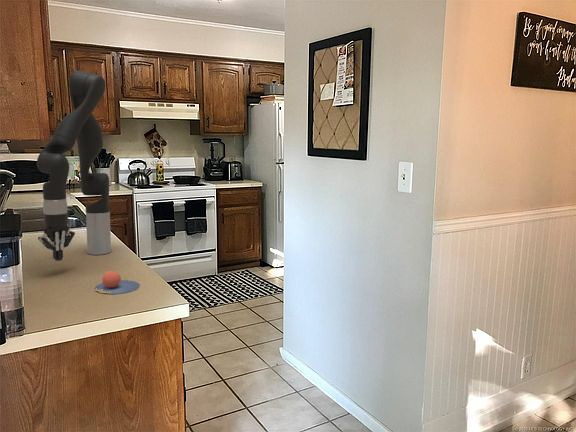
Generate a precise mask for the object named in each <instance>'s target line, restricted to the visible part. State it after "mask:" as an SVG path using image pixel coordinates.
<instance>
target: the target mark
mask: <svg viewBox="0 0 576 432" xmlns="http://www.w3.org/2000/svg"><path fill="white" fill-rule="evenodd" d="M139 286H141V285H140V283H139V282H136V281H134V280H129V279H128V280H126V279H121V281H120V283H119V285H118V286H117V287H115V288H107V287H106V286H105V285H104V284H103V282H102V283H98V284H97V285H95V286H94V289H96V288H97V289H98V290H99V289H100V290H101V289H103V291H106V292H107V291H108V292H109V291H111V292H112V294H111V295H121V294H120V293H123V294H127V292H128V293H131V292H130V291H132V292H134V291H137V290H138V289H139V288H140V287H139ZM138 287H139V288H138ZM137 288H138V289H137ZM94 289H93V290H94ZM133 290H134V291H133ZM111 292H110V293H111ZM113 293H114V294H113Z"/></svg>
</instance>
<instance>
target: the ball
mask: <svg viewBox="0 0 576 432" xmlns="http://www.w3.org/2000/svg"><path fill="white" fill-rule="evenodd" d="M121 280H122V279H121V276H120V273H118V272H117V271H116V270H115V271H114V270H109V271H106V272H105V273H104V274H103V276H102V283H103V284H104V285H105V286H106V287H107V288H115V287H117V286H118V285H119V283H120V281H121Z"/></svg>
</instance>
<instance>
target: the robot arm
mask: <svg viewBox="0 0 576 432" xmlns="http://www.w3.org/2000/svg"><path fill="white" fill-rule="evenodd" d="M68 88H69V89H68V90H69V94H70V100H71V104H72V108H73V109H72V110H73V111H72V112H70V113H68V114H67V115H65V117H63V119H62V120H61V121H60V122H59V123H58V125H57V127H56V128H55V131H54V133H53V135H52V138H51V139H50V141H48V143H47V144H46V146H44V148H43V149H42V150H41V152H39V154H38V157H37V159H36V166H37V170H38V171H40V172H41V173H43V174H48V175H50V176H49V180H48V181H46V182H44V183H43V185H42V197H43V202H42V210H43V211H42V212H43V224H44V231H43V234H42V235H41V236H37V237H38V238H37V240H38V241H39V242H40V243H41V244H42V245H43V246H44V247H45V248H46V249H47V250H51V251H52V258H53V260H54V261H57V262H58V261H62V260H63V258H64V248H68V247H69V244H70V243H71V242H72V240H73V238H74V237H75V235H76V232H74V231H72V230H70V227H69V213H68V212H69V211H68V202H67V191H66V189H67V187H66V185H67V184H68V183H67V182H68V177H69V173H70V162H69V161H68V158H67V157H66V156H65V155H64V153H66V152H67V153H68V152H70V151H71V150H73V148H74V146H75V143H76V145H77V152H78V158H79V159H78V160H79V177H80V178H79V179H80V191H81V193H82V195H83V196H91V197H94V196H98V197H99V196H100V198H99V199H97V200H96V201H94V202H92V203H89V204H87V205H86V206H85V223H86V225H85V226H86V247H87V250H86V251H87V254H88V255H92V256H96V255H97V256H98V255H99V256H101V255H106V254H110V253H111V252H112V242H111V241H112V240H111V239H112V237H111V235H112V233H111V212H110V211H111V210H110V208H111V207H110V176H109V174H107V173H105V172H90V168H91V166H92V164H93V162H94V161H95V159H97V157H98V156H99V154H100V152H101V151H102V149H103V147H104V141H103V139H104V138H103V130H102V126H101V125H100V124H99V122H98V120H97V118H96V117H95V116H94V114H93V112H94V110H95V109H96V107H97V106H98V105H99V103H100V102H101V100H102V98H103V96H104V94H105V91H106V81H105V79H104V77H103V76H102V75H100V74H99V75H98V74H96V73H92V72H88V71H85V70H84V71H83V70H80V69H79V70H78V69H77V70H73V71H72V72H71V74H70V75H69V81H68ZM67 224H68V225H67Z"/></svg>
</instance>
